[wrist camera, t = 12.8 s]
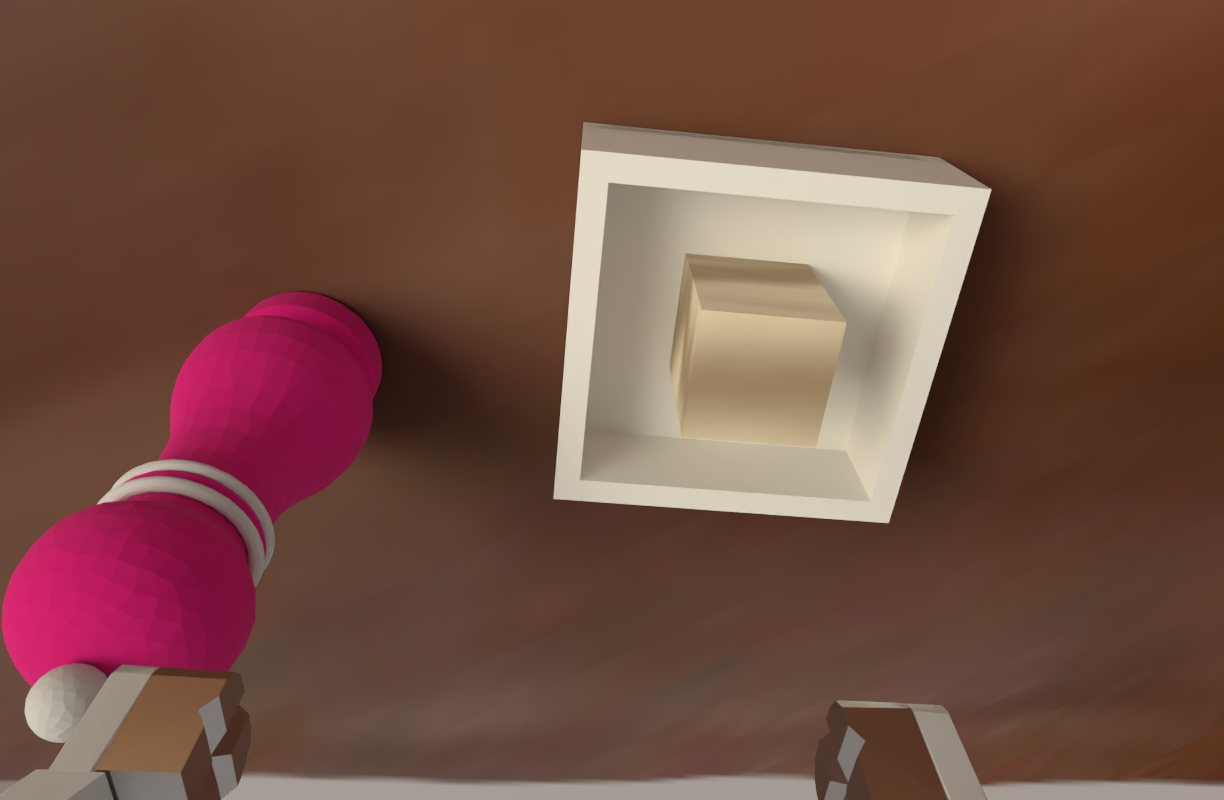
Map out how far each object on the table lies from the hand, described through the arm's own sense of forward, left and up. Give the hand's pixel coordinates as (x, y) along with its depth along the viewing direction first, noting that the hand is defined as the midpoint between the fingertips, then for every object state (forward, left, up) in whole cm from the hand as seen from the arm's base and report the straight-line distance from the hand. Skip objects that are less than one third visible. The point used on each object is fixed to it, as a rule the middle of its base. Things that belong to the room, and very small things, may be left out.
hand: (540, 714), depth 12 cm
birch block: (+3, +7, -24) cm, 26 cm away
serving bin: (+3, +7, -25) cm, 26 cm away
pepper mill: (+7, -11, -26) cm, 29 cm away
